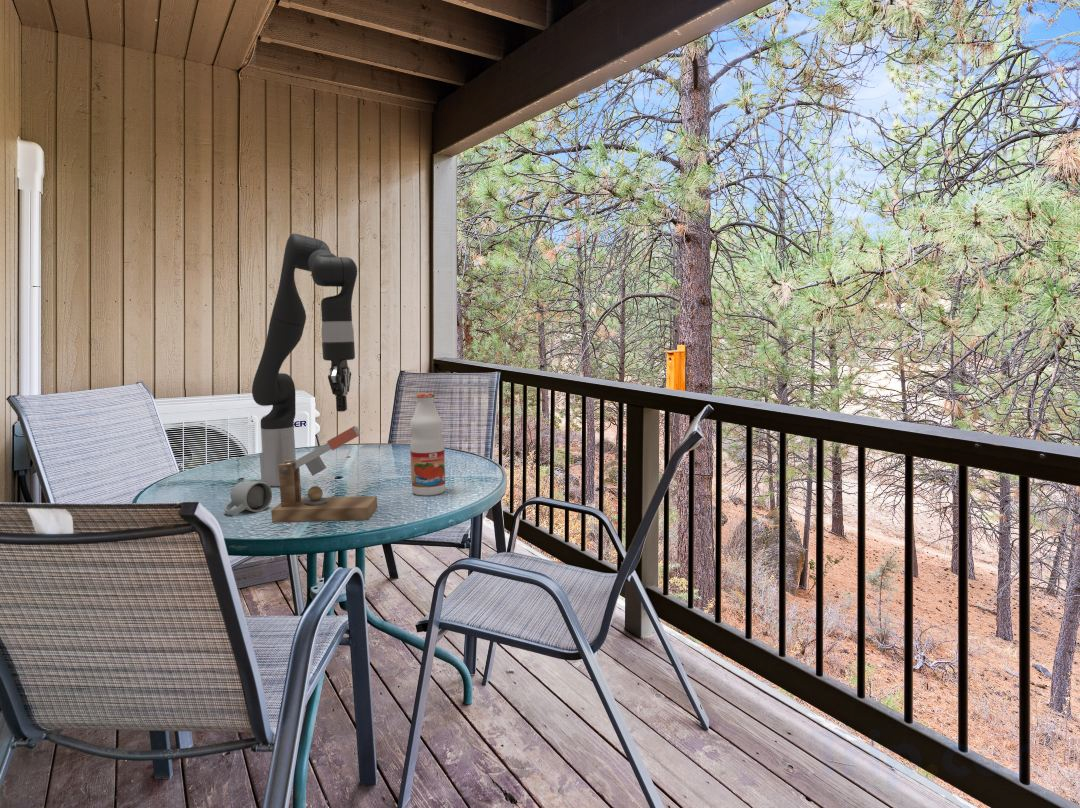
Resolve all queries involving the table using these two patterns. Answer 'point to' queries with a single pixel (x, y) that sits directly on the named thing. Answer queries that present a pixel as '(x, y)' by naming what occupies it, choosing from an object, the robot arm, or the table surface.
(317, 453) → the lever
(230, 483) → the table surface
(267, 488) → the ceramic mug
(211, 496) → the table surface
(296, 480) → the base
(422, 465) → the fruit juice
